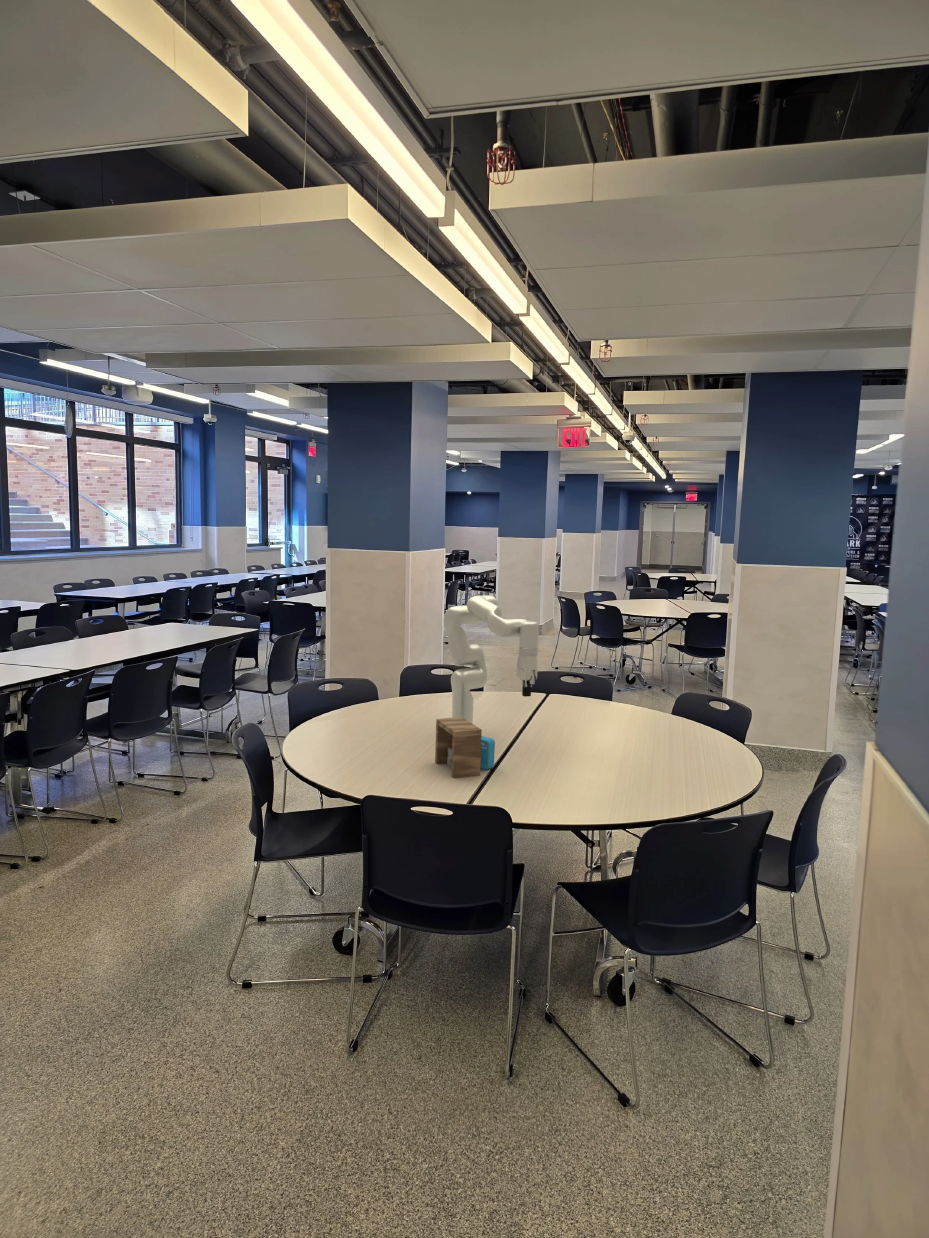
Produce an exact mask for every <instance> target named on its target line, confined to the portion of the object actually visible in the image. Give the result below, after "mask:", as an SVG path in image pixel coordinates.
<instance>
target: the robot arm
mask: <svg viewBox="0 0 929 1238" xmlns="http://www.w3.org/2000/svg"><path fill="white" fill-rule="evenodd" d="M502 614H503V611H502V609H501V606H499V601H498V600H497V598H496V597H495V596H493V595H491V594H489V595H487V594H485V595H474V596H472V597H470V598H469V599H468V600H467V602H466V605H465V604H464V605H455V606H451V607H449V608H448V609H447V610H446V611H445V613H444V616H443V626H444V629H445V631H446V635H447V642H448V648H449V654H450V660H451V663H452V665H454V666H457V667H463V666H469V667H466V668H460V669H457V670H454V672H452V674H451V676H450V685H451V692H452V693H451V694H452V698H451V699H452V700H451V701H452V702H451V703H452V704H451V706H452V707H451V709H452V710H451V718H455V717H462V718H464V719H466V720H467V721H469V722H470V723H472V724H474V697H473V695H472V693H471V690H474V689H475V690H476V689H480V688H483V687H485V686H486V684H487V682H488V670H487V665H486V657H485V653H484V650H483V648H482V647H481V646H480V645H479V644H477V643H469V642H468V636H467V633H466V631H465V629H464V628H463V627H462V626H461V625H474V624H479V623H482V622H486V624H487V627H488V629H489V631H490V632H492V633H493V634H494V635H496V636H498V637H501V638H505V639H509V638H519V642H518V643H519V644H518V645H519V646H518V657H517V662H516V677H517V678H518V679H520V681H521V685H522V689H521V690H522V691H521V696H523V697H525V698H526V697H531V696H532V687H533V685H535V681H536V680H537V679H538V653H539V631H540V630H539V628H540V625H539V623H538V622H537V621H534V620H528V619H524V618H506V619H504V618H502Z"/></svg>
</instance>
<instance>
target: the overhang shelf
mask: <svg viewBox="0 0 929 1238" xmlns="http://www.w3.org/2000/svg"><path fill="white" fill-rule="evenodd" d="M482 733H483V731H482V729H481V727H478V726H476V725H475V724H474V723H473V724H472V723H470V722H469V721H467V720H466V719H464V718H462V717H455V718H452V717H442V718H436V721H435V749H434V750H435V751H434V753H435V754H434V756H435V757H434V763H435V764H437V765H439V764H441V765H442V764H447V766H448V767H450V769H451V778H453V779H459V778H467V777H468V778H469V777H475V776H476V777H477V776H481V769H480V762H481V736H482Z"/></svg>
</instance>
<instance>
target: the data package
mask: <svg viewBox="0 0 929 1238" xmlns="http://www.w3.org/2000/svg"><path fill="white" fill-rule="evenodd" d="M495 749H496V742H495V739H494V738H493V737H487V736H483V735H481V762H480V770H484V771H487V770H489V769H492V768H493V767H494V766H495V751H496V750H495Z"/></svg>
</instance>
